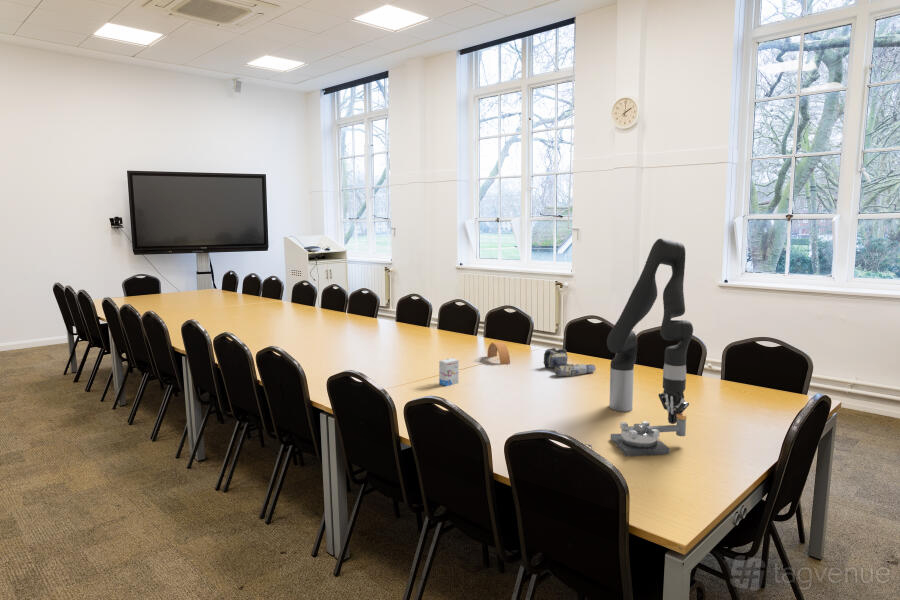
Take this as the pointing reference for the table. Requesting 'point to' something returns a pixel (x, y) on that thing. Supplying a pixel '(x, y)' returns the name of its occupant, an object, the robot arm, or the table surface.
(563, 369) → the power drill
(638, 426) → the orange knob lever
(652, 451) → the base plate
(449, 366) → the ink box
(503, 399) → the table surface
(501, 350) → the arch
